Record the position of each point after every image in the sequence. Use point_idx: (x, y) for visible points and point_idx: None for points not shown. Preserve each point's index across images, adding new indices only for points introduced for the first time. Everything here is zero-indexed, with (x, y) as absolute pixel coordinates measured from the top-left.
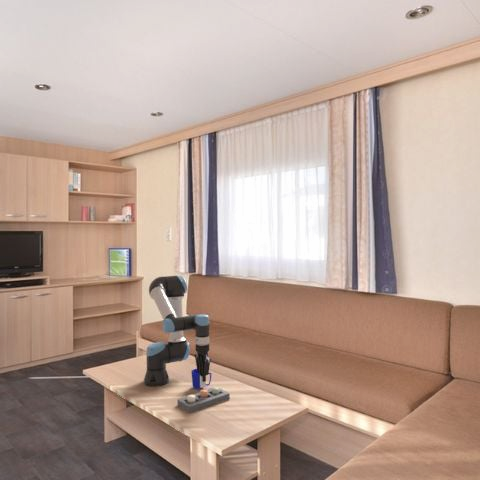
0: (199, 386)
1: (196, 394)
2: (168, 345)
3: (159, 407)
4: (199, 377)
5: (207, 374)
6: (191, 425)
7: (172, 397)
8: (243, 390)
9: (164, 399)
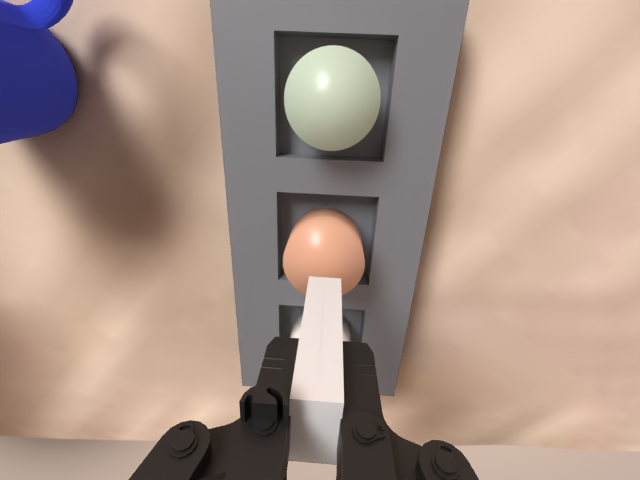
0: (64, 101)
1: (251, 261)
2: None
3: (218, 420)
4: None
5: (462, 476)
6: (502, 424)
7: (130, 323)
8: None
9: (134, 364)
